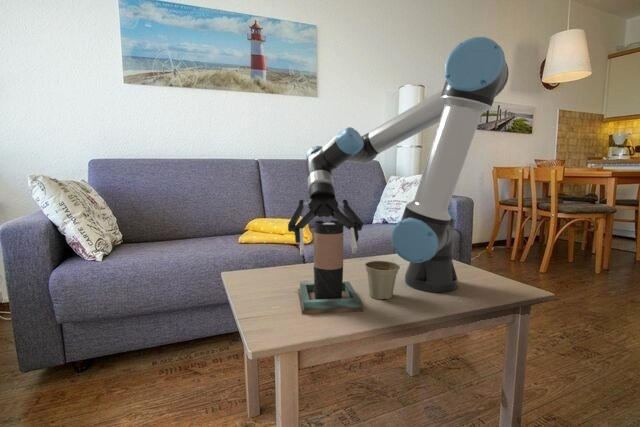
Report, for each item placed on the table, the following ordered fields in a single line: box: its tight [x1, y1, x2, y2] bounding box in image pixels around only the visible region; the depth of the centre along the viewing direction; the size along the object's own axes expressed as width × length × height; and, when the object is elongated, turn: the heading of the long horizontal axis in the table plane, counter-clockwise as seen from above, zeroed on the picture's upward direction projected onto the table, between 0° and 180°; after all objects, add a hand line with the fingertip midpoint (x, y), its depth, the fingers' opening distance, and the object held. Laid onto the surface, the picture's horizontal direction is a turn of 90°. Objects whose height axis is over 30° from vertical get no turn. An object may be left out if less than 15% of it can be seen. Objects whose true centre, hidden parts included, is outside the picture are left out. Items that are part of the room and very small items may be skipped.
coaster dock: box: [297, 281, 364, 315], centre depth 89 cm, size 15×15×3 cm
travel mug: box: [313, 219, 344, 300], centre depth 88 cm, size 8×8×20 cm
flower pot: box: [364, 260, 401, 300], centre depth 92 cm, size 9×9×9 cm
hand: (328, 252), depth 86 cm, fingers open, 13 cm apart
